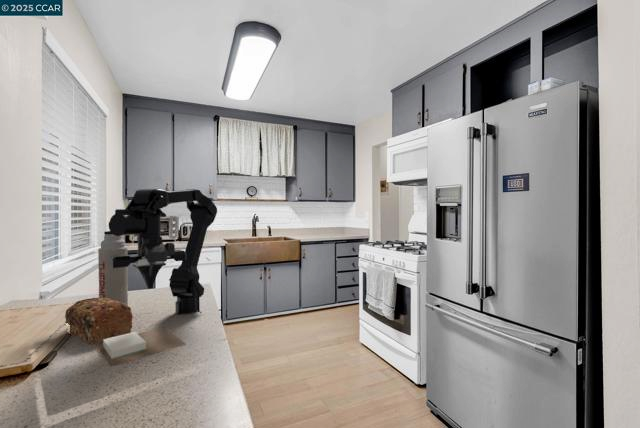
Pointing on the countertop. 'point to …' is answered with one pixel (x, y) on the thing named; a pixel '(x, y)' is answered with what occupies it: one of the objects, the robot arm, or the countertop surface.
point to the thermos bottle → (112, 269)
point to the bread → (99, 319)
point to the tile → (124, 345)
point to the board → (147, 345)
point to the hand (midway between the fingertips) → (149, 288)
